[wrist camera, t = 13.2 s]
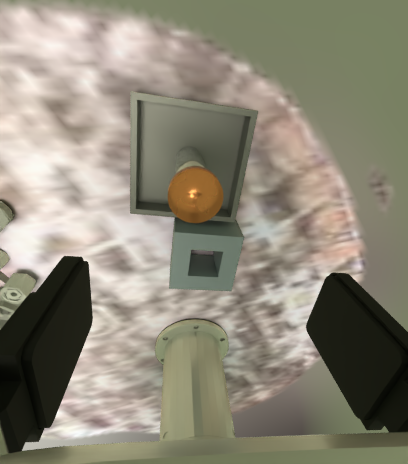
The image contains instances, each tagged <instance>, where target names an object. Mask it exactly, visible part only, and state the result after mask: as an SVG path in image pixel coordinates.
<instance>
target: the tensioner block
mask: <svg viewBox="0 0 408 464" xmlns="http://www.w3.org/2000/svg"><path fill="white" fill-rule="evenodd" d="M243 240H244V236H243V234H242V232H241V230H240V228H239V226H238V224H237V222H236V220H235V222H224V221H212V220H207V221H205V222H201V223H189V222H185V221H183V220H181V219H179V218H177V217H175V220H174V231H173V242H172V253H171V264H170V285H169V288H171V289H193V290H215V291H232V286H233V282H234V278H235V274H236V269H237V265H238V261H239V257H240V253H241V248H242V244H243ZM191 250H205V251H214V254H213V255H198V254H191Z"/></svg>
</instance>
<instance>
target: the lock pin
mask: <svg viewBox="0 0 408 464" xmlns="http://www.w3.org/2000/svg"><path fill="white" fill-rule="evenodd" d="M222 203H223V189H222V186H221V184H220V182H219V180H218V178H217V177H216V176H215V174H214V173H212V172H211V171H210V170H208V169H207V168H206V166H205V164H204V161H203V159H202V156H201V154H200V153H199V151H198V150H196V149H194V148H191V147H187V148H184V149H182V150H181V151H179V153H178V154H177V157H176V174H175V175H174V176H173V178H172V179H171V181H170V184H169V188H168V204H169V207H170V209H171V210H172V212H173V213H174V214H175V215H176V216H177V217H178V218H179V219H181V220H183V221H185V222H189V223H201V222H205V221H207V220H209V219H211V218H212V217H214V216H215V215H216V214H217V213H218V211H219V210H220V208H221V206H222Z"/></svg>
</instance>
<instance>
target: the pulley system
mask: <svg viewBox="0 0 408 464" xmlns="http://www.w3.org/2000/svg"><path fill="white" fill-rule="evenodd" d="M13 217H14V214H13V213H12V211H11V210H10V208H9V207H8V206H7V205H5V204H4V203H3V202H2V201H0V228H1V229H0V232H1V230H2V229H3V228H4V227H5V226H6V225H7V224H8V223H9V222H10V221H11V220H12V219H13ZM8 261H9V257H8V255H7V253H5V252H3V251H2V250H0V269H1V268H2V267H3V266H4V265H5V264H6V263H7V262H8ZM0 280H2V281H3V282H4V283H6V284H5V285H4V287H3V288H0V329H1V328H2V327H3V326H4V324H5V323H6V322H7V321H8V319H9V318H10V317H11V316H12V314H13V313H14V312H15V311H16V309H17V308H18V307H19V306H20V304H21V303H22V302H23V301H24V299H25V298H26V297H27V296H28V295H29V294H30V292H31V291H32V289H33V288H34V286H35V283H36V280H34V279H33V278H32V277H30V276H29V275H28V274H20V273H13V274H12V276H11V277H10V278H8V277H7V276H5V275H4V274H3V273H1V272H0Z"/></svg>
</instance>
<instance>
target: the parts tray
mask: <svg viewBox="0 0 408 464" xmlns="http://www.w3.org/2000/svg"><path fill="white" fill-rule="evenodd" d="M257 114H258V111H255V110H249V109H242V108H236V107H229V106H223V105H216V104H210V103H203V102H197V101H190V100H184V99H177V98H170V97H164V96H157V95H151V94H144V93H138V92H131V132H130V213H131V214H142V215H154V216H166V217H177V216H176V215H175V214H174V213H173V212H172V210H171V209H170V207H169V204H168V188H169V184H170V181H171V179H172V178H173V176H174V175H175V174H176V157H177V154H178V153H179V151H181V150H182V149H184V148H187V147H191V148H194V149H196V150H198V151H199V153H200V154H201V156H202V159H203V161H204V164H205V166H206V168H207V169H208V170H210V171H211V172H212V173H214V174H215V176H216V177H217V178H218V180H219V182H220V184H221V186H222V189H223V203H222V206H221V208H220V210H219V211H218V213H217V214H216V215H215V216H214V217H212V218H211V219H209V220H212V221H224V222H235V218H236V213H237V209H238V204H239V199H240V194H241V190H242V185H243V180H244V176H245V171H246V166H247V161H248V157H249V152H250V147H251V143H252V138H253V133H254V128H255V124H256V119H257ZM177 218H178V217H177Z"/></svg>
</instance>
